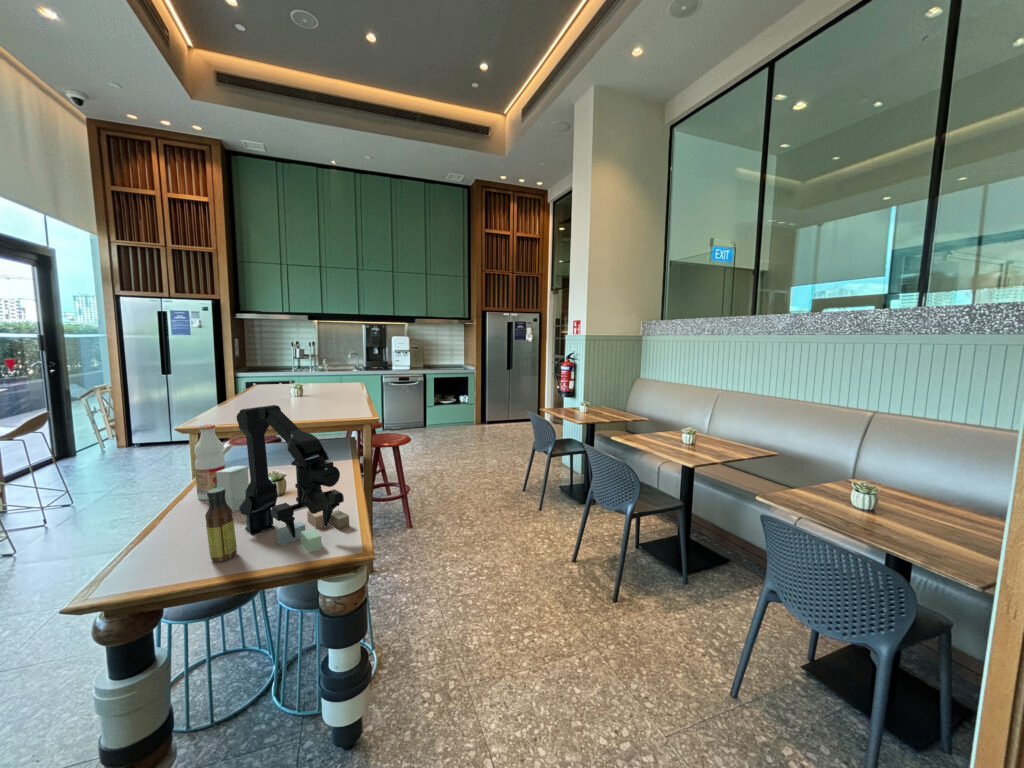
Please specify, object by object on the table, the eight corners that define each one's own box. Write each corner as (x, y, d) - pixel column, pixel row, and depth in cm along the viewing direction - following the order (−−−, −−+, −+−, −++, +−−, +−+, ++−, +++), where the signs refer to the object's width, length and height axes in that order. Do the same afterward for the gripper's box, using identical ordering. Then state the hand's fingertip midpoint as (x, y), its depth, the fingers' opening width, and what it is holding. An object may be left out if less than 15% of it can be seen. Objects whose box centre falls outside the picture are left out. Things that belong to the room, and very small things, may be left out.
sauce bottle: (236, 549, 119) (232, 483, 117) (237, 558, 114) (233, 490, 112) (208, 556, 115) (203, 488, 113) (208, 566, 110) (203, 495, 108)
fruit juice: (202, 493, 163) (197, 424, 160) (230, 490, 166) (225, 422, 163) (193, 501, 154) (187, 429, 151) (222, 498, 157) (217, 427, 154)
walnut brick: (349, 527, 134) (348, 515, 134) (339, 531, 131) (338, 519, 131) (338, 521, 138) (338, 509, 138) (328, 524, 136) (328, 513, 135)
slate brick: (282, 545, 122) (281, 532, 121) (277, 542, 124) (276, 529, 124) (305, 537, 127) (305, 524, 127) (300, 533, 129) (300, 521, 129)
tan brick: (326, 525, 135) (326, 513, 135) (315, 528, 133) (315, 517, 132) (318, 519, 140) (317, 507, 140) (307, 522, 137) (307, 510, 137)
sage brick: (321, 548, 120) (320, 535, 120) (308, 553, 118) (308, 539, 117) (313, 540, 125) (312, 528, 125) (301, 544, 123) (300, 531, 122)
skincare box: (232, 513, 144) (229, 472, 142) (217, 512, 145) (214, 471, 143) (251, 504, 152) (248, 465, 150) (237, 503, 153) (234, 464, 151)
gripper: (284, 496, 107) (287, 553, 109) (351, 479, 121) (353, 529, 123) (268, 486, 114) (271, 540, 116) (334, 471, 128) (335, 518, 130)
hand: (310, 531), depth 121 cm, fingers open, 9 cm apart
